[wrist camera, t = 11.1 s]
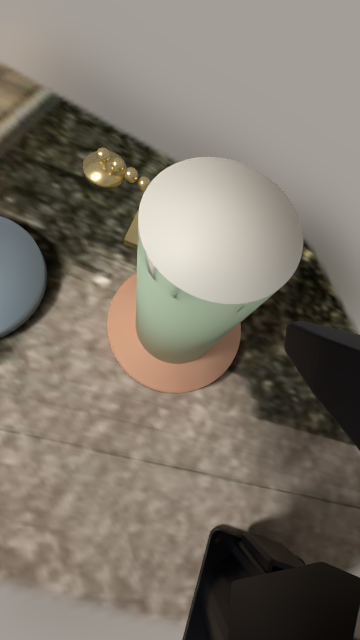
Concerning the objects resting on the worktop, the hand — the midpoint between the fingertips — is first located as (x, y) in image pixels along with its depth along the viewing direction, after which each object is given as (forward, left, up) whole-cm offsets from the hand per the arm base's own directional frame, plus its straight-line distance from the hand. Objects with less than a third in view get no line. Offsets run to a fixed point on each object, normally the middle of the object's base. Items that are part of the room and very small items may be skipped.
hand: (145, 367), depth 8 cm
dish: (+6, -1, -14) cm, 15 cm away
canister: (+6, -1, -12) cm, 14 cm away
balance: (+13, +4, -14) cm, 19 cm away
